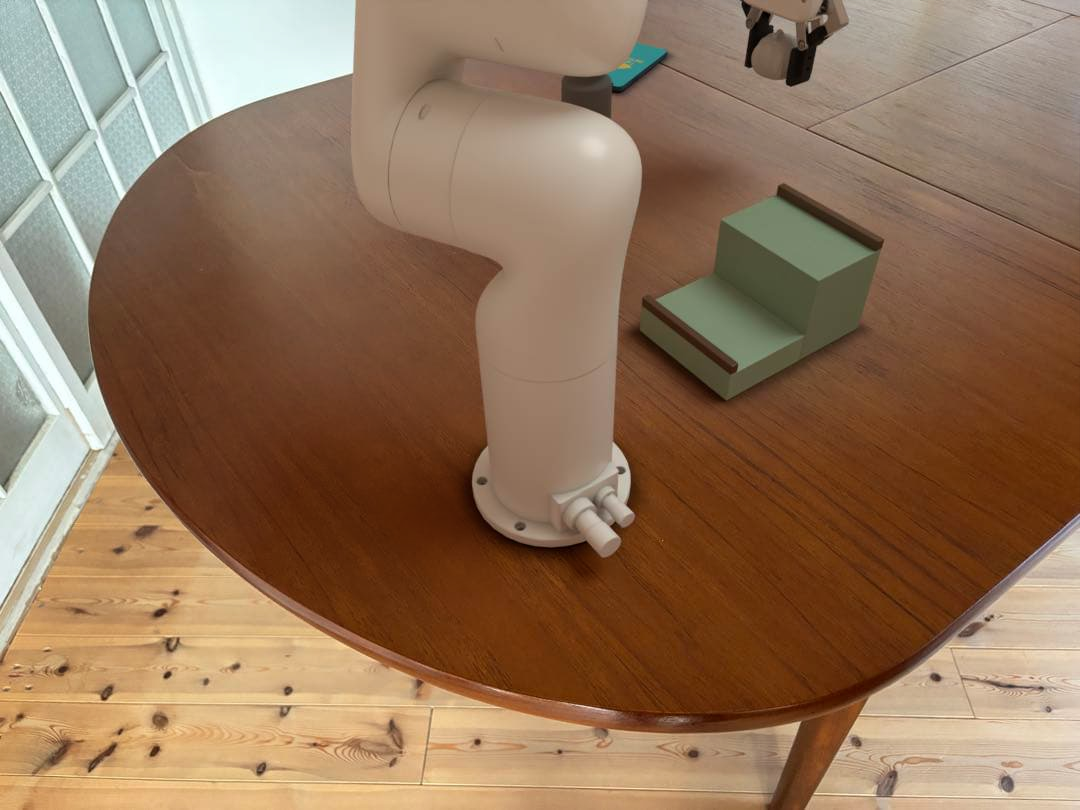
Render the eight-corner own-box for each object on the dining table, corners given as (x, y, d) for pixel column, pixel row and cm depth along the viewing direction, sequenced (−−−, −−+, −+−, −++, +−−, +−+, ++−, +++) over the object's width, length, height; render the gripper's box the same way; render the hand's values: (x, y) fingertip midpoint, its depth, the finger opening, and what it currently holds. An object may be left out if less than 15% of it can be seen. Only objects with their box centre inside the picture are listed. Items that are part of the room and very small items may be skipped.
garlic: (766, 90, 92) (774, 41, 89) (739, 72, 96) (746, 24, 92) (813, 81, 94) (823, 32, 90) (785, 63, 98) (793, 15, 94)
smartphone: (670, 49, 128) (621, 86, 119) (669, 54, 128) (621, 92, 119) (626, 40, 131) (576, 76, 122) (626, 46, 131) (576, 82, 122)
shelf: (858, 328, 82) (884, 239, 75) (726, 400, 75) (741, 310, 68) (767, 268, 89) (783, 182, 82) (639, 330, 82) (645, 242, 75)
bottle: (553, 169, 105) (551, 46, 94) (574, 148, 109) (575, 27, 98) (597, 180, 103) (599, 55, 92) (617, 158, 106) (621, 35, 96)
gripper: (718, -124, 86) (698, 57, 98) (852, -89, 76) (811, 109, 88) (771, -135, 89) (746, 42, 101) (907, -102, 79) (860, 91, 91)
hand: (776, 72), depth 95 cm, fingers closed on garlic, 5 cm apart
